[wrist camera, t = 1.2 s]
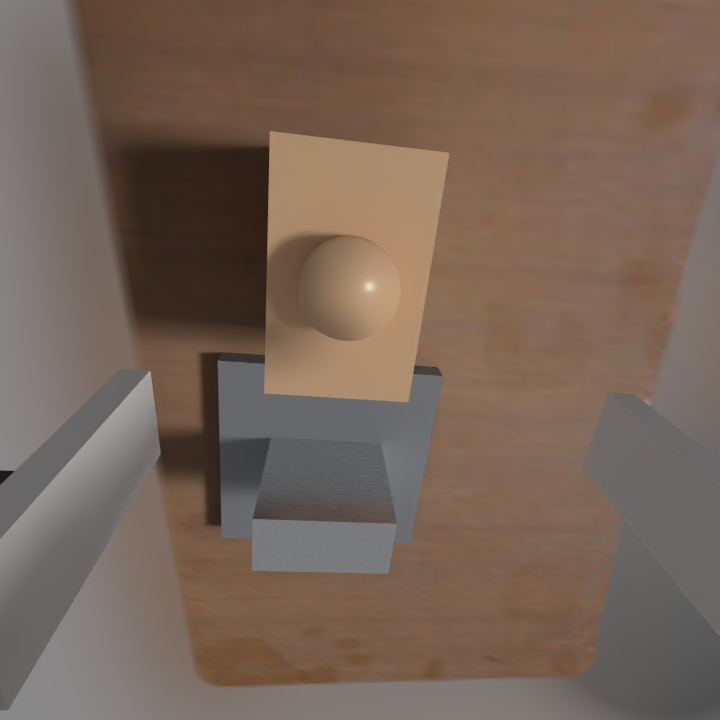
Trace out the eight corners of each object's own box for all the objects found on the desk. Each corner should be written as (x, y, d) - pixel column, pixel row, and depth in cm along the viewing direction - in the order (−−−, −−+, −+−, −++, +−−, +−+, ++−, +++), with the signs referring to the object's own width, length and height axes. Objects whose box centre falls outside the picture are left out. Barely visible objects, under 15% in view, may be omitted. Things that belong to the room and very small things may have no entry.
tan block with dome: (290, 147, 27) (264, 126, 16) (409, 161, 27) (459, 150, 17) (283, 329, 31) (259, 408, 20) (385, 337, 32) (414, 417, 21)
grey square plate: (222, 352, 31) (178, 424, 22) (437, 367, 33) (479, 440, 24) (225, 524, 37) (191, 637, 28) (407, 530, 39) (431, 638, 30)
